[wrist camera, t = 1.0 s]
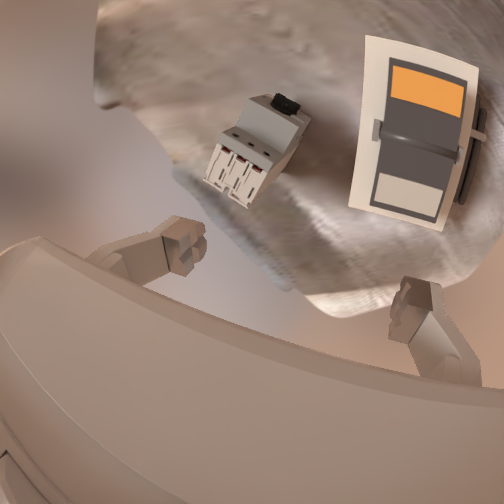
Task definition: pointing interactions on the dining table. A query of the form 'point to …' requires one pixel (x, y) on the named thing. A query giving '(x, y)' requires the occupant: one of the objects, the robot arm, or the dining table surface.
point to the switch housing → (374, 117)
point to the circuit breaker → (256, 147)
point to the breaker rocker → (418, 139)
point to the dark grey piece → (479, 138)
